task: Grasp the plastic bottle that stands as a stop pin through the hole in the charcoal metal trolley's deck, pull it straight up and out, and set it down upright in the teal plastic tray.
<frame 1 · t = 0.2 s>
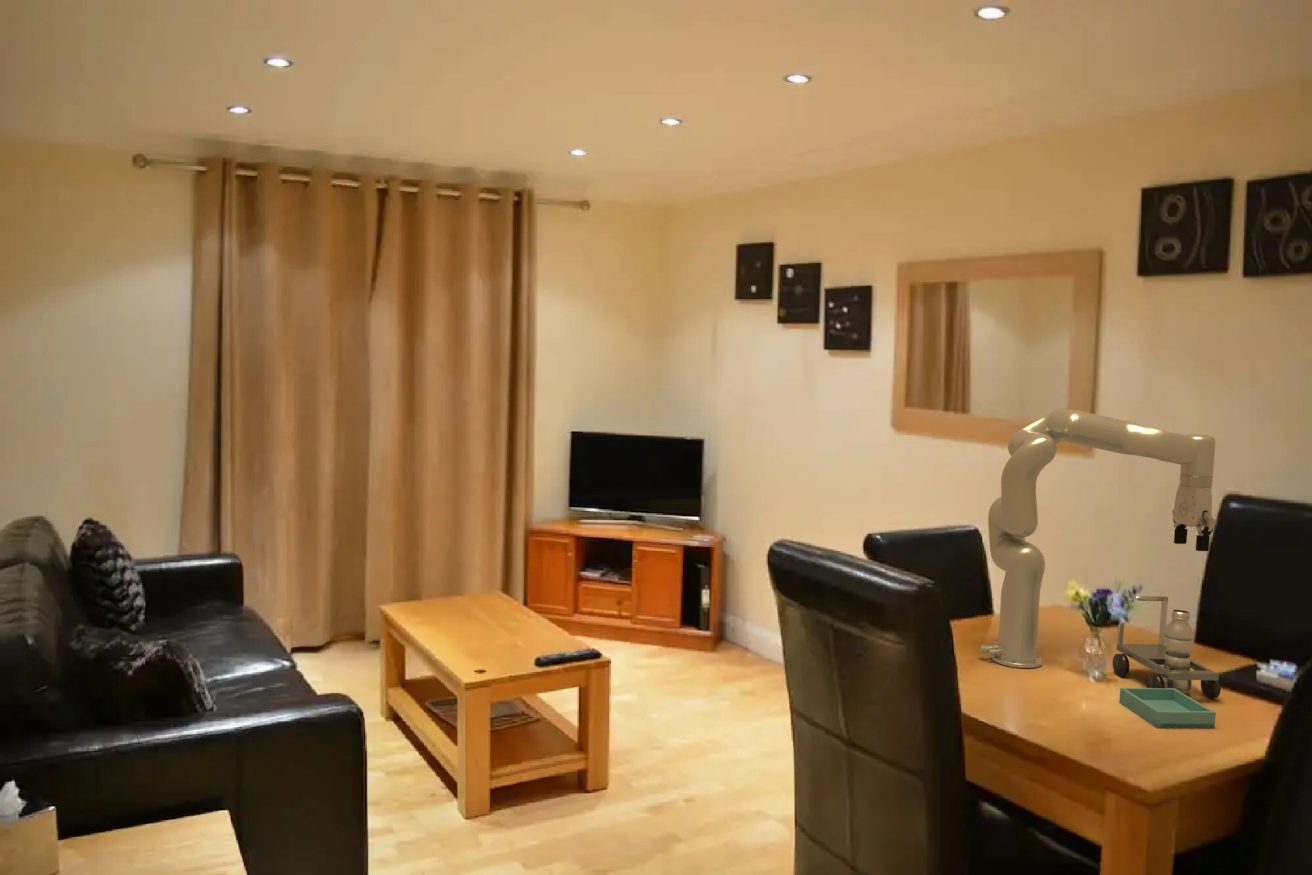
hand: (1190, 547, 268), 31 cm above the table, tool pointing down, fingers open, 9 cm apart
trolley: (1161, 684, 253), on the table
tray: (1165, 714, 231), on the table
plastic bottle: (1175, 693, 247), on the table
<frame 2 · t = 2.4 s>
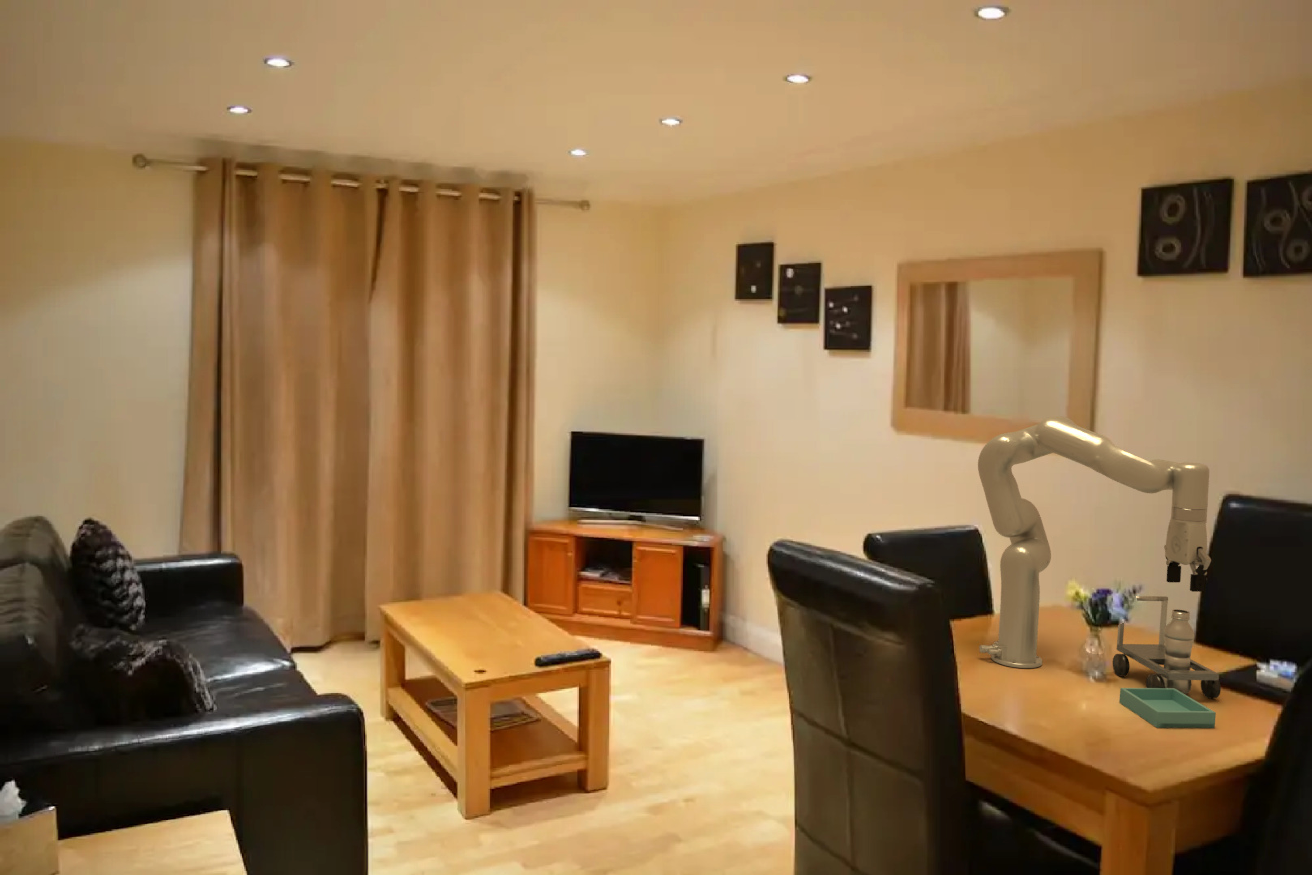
hand: (1184, 586, 244), 26 cm above the table, tool pointing down, fingers open, 9 cm apart
nothing on the table moved.
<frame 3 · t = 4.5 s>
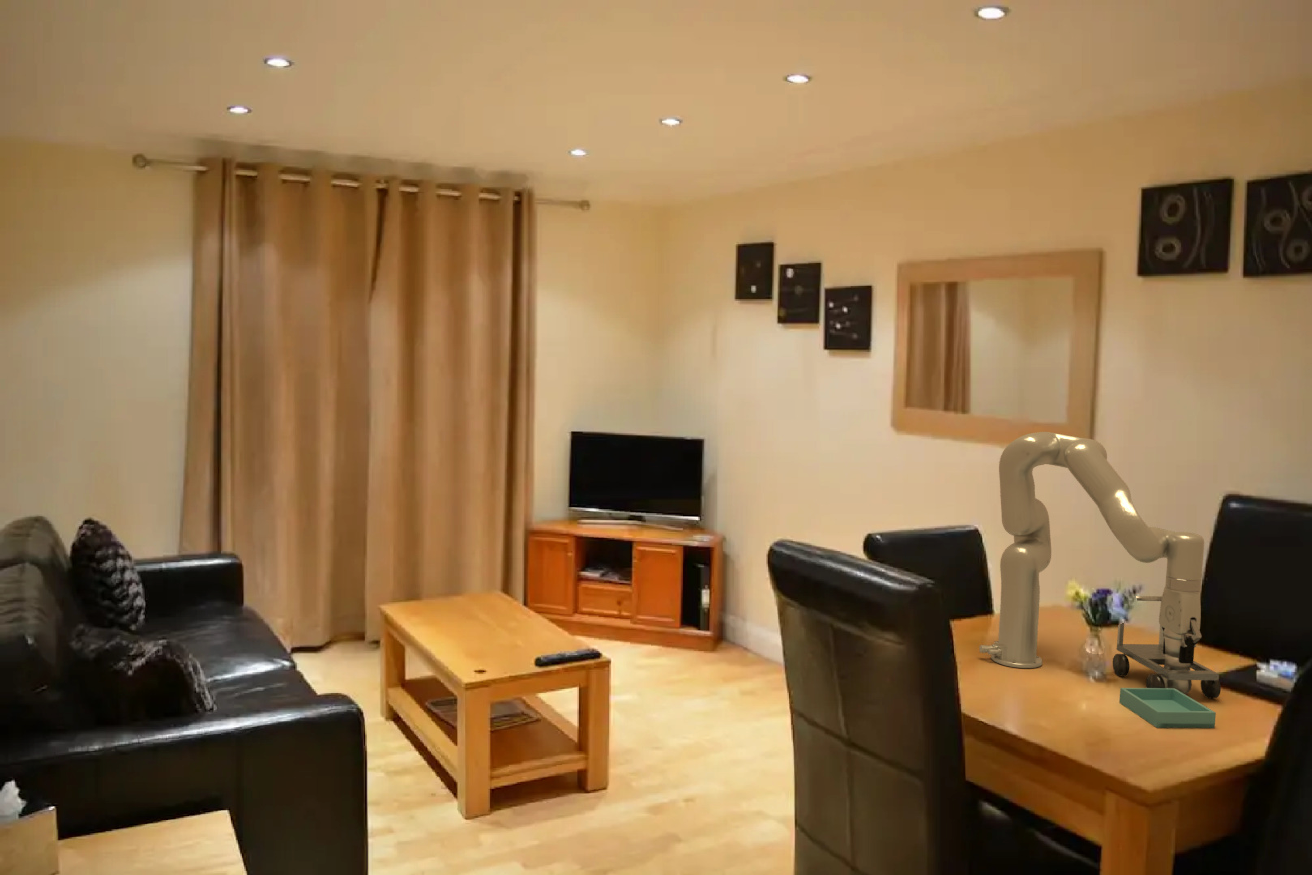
hand: (1177, 657, 246), 9 cm above the table, tool pointing down, fingers closed on plastic bottle, 6 cm apart
plastic bottle: (1175, 693, 247), on the table, touching gripper
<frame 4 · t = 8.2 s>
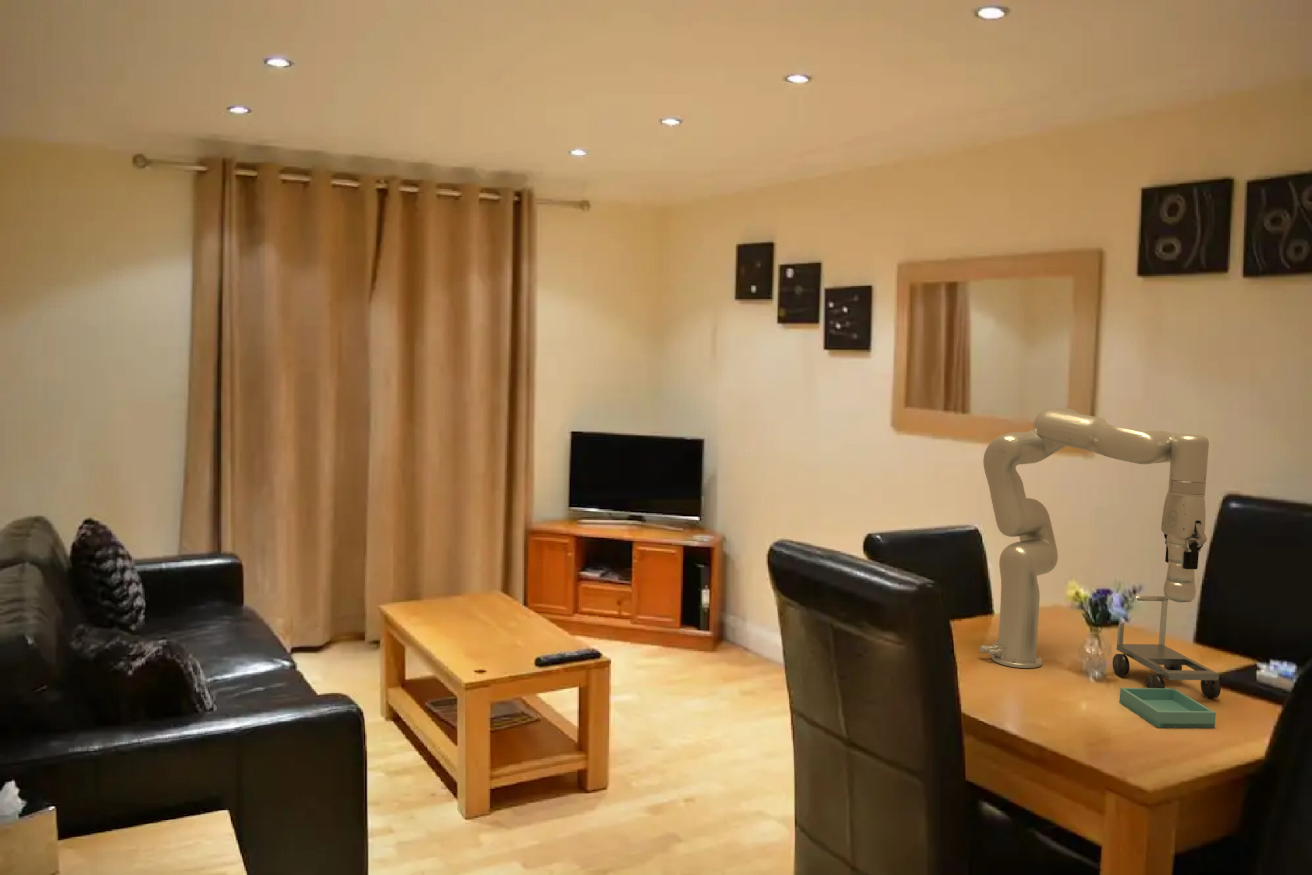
hand: (1181, 564, 237), 33 cm above the table, tool pointing down, fingers closed on plastic bottle, 6 cm apart
plastic bottle: (1178, 602, 238), point 24 cm above the table, touching gripper
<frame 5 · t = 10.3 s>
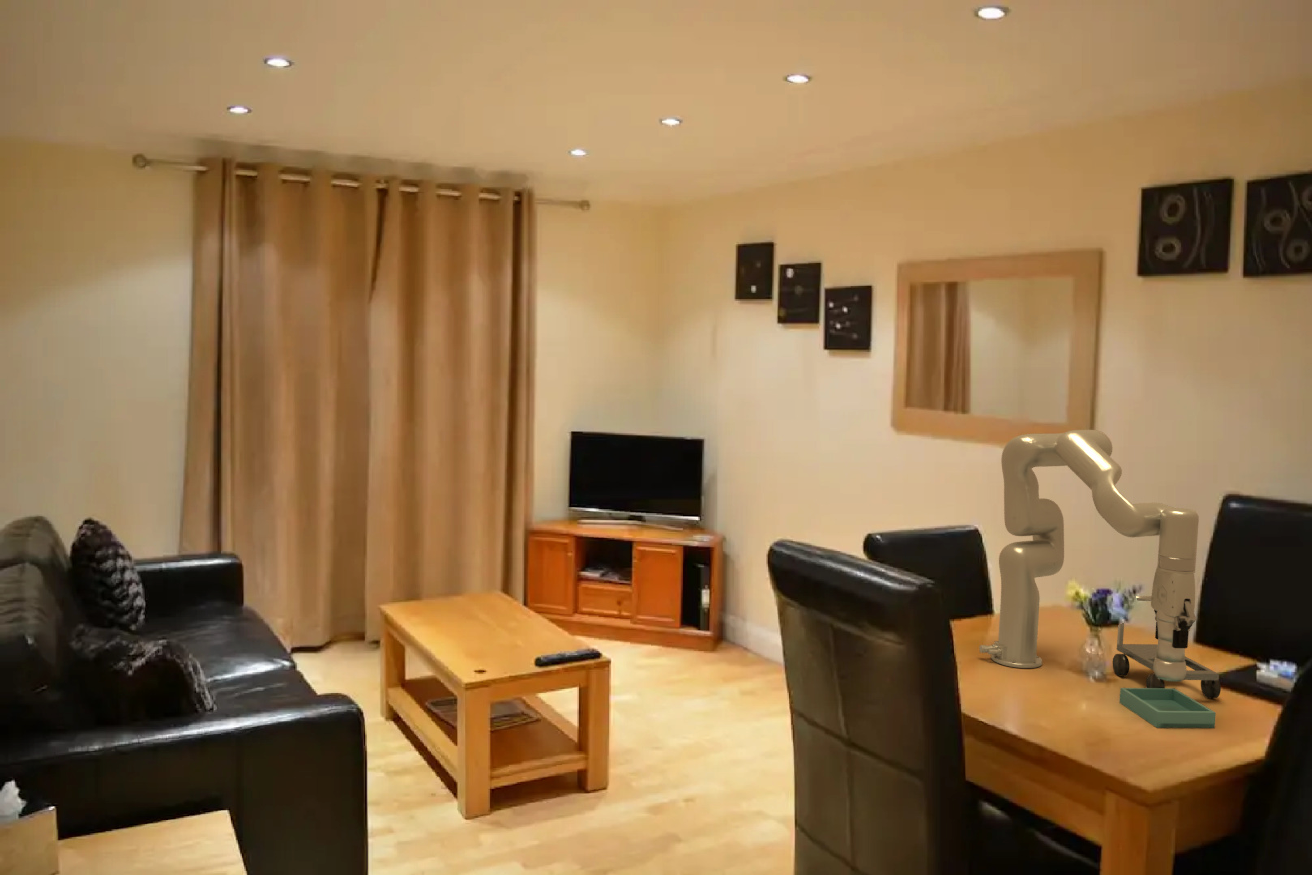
hand: (1171, 642, 230), 17 cm above the table, tool pointing down, fingers closed on plastic bottle, 6 cm apart
plastic bottle: (1168, 681, 231), point 8 cm above the table, touching gripper
when the fingers open (11 cm above the table, at t = 12.0 s): plastic bottle drops 1 cm, resting on tray.
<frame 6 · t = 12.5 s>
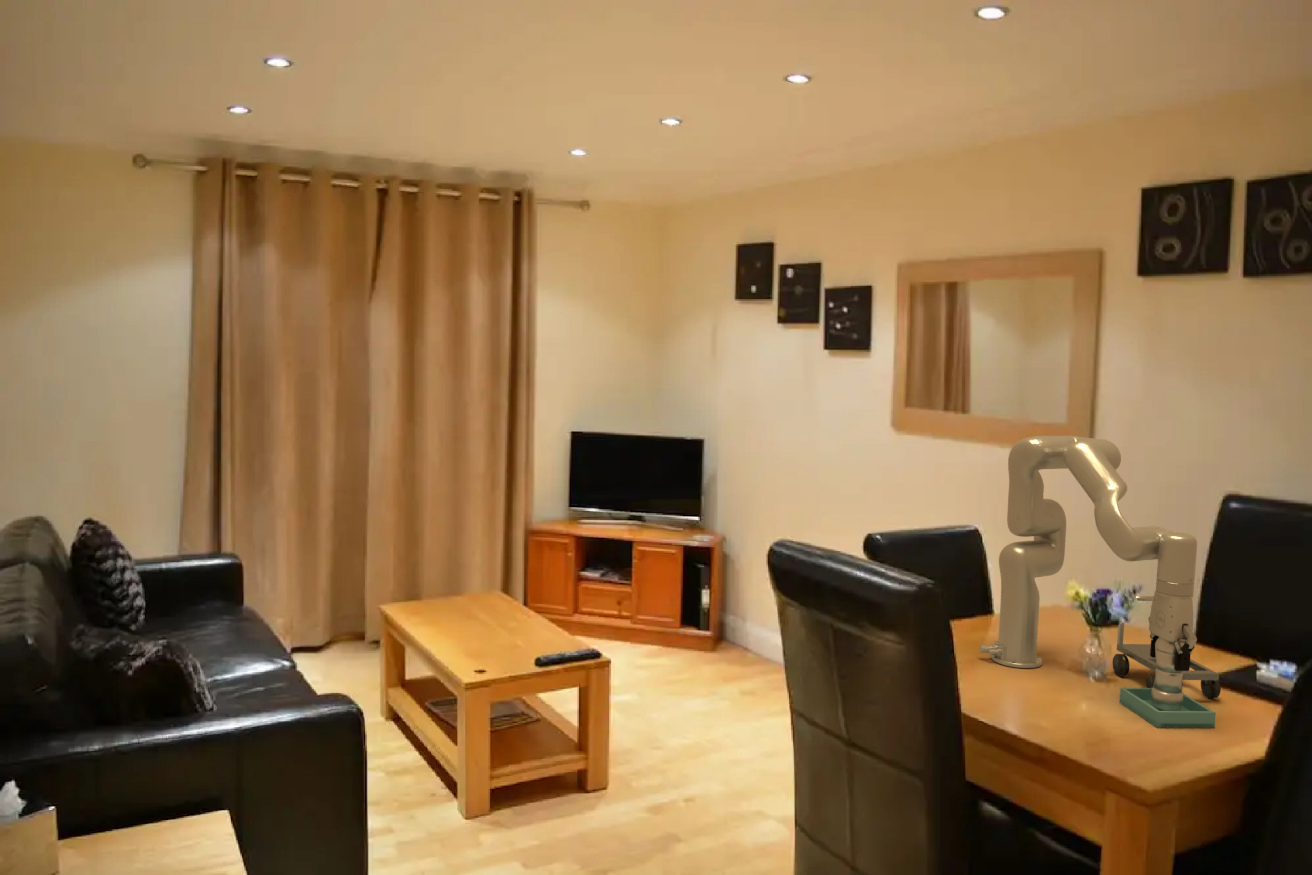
hand: (1169, 663, 230), 12 cm above the table, tool pointing down, fingers open, 9 cm apart
plastic bottle: (1165, 711, 231), point 1 cm above the table, touching tray
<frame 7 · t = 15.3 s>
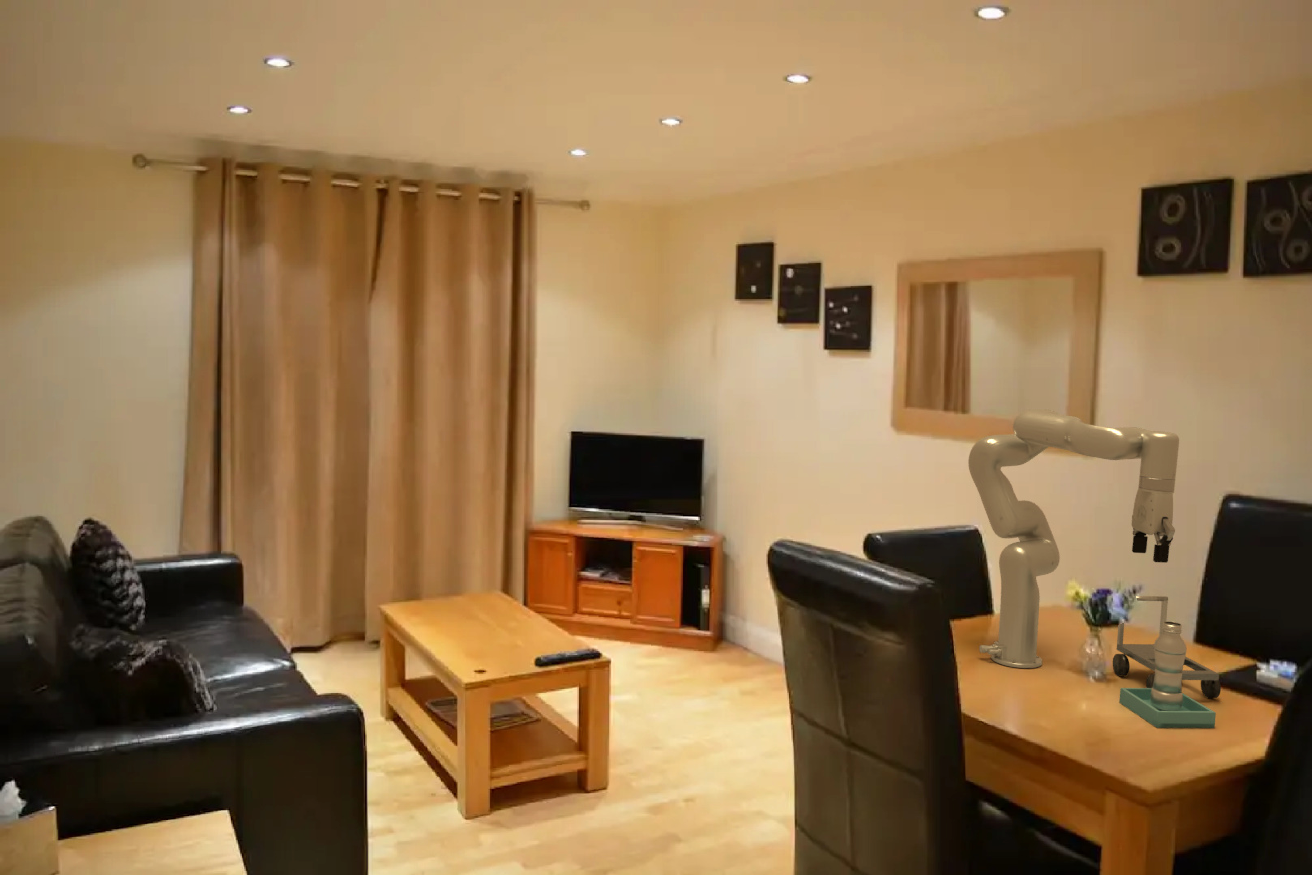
hand: (1149, 557, 240), 34 cm above the table, tool pointing down, fingers open, 9 cm apart
nothing on the table moved.
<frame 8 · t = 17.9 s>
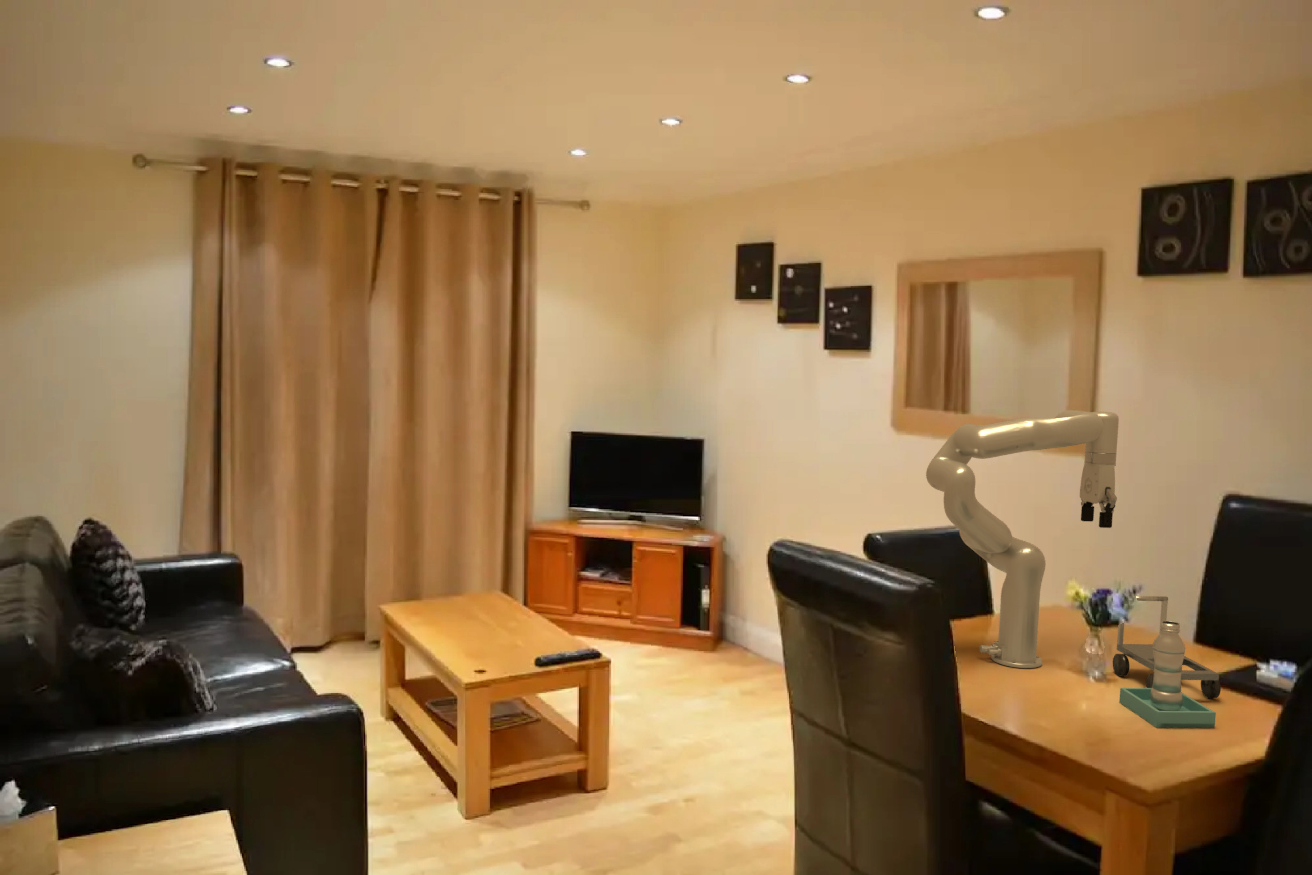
hand: (1095, 524, 269), 36 cm above the table, tool pointing down, fingers open, 9 cm apart
nothing on the table moved.
at the end: plastic bottle inside the target area on the tray (0.1 cm from its centre), point 0.8 cm above the tray's base; plastic bottle tilted 0°; the gripper is holding nothing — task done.
